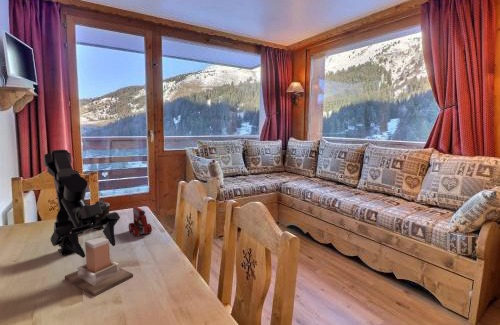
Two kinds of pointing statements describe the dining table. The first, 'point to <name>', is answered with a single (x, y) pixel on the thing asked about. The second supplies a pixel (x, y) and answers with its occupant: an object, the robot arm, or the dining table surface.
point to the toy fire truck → (139, 223)
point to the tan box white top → (97, 254)
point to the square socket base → (98, 278)
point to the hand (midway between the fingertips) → (100, 250)
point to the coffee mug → (102, 215)
